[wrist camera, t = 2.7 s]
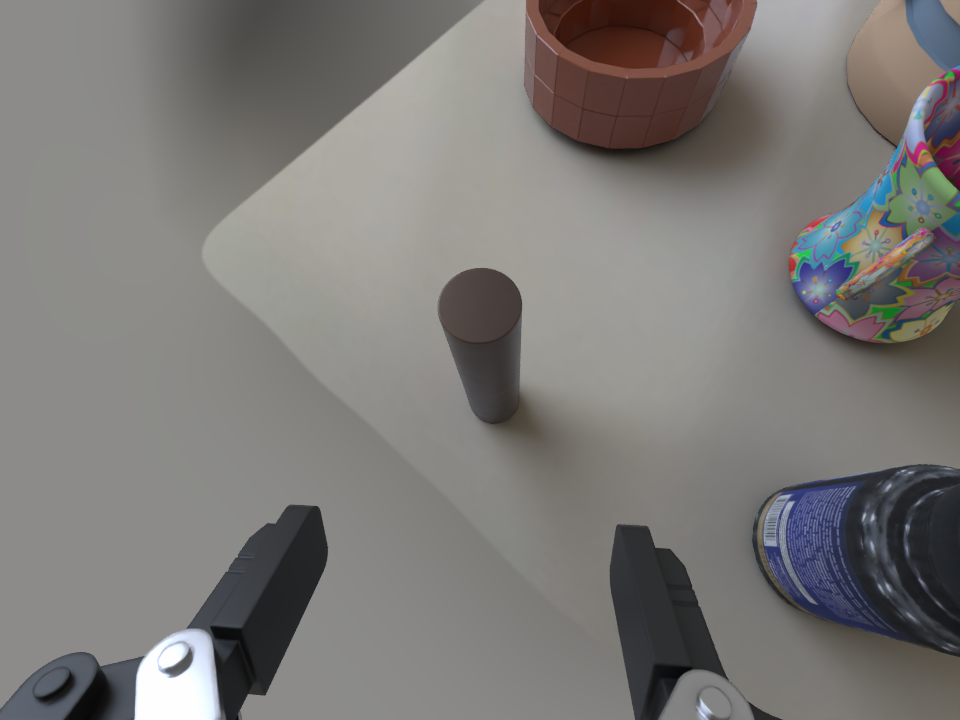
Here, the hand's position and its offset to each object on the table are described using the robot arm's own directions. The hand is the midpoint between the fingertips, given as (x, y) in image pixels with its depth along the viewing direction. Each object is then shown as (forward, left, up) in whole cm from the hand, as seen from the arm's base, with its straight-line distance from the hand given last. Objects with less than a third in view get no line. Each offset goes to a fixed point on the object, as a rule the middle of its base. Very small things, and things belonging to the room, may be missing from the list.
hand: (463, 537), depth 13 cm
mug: (+20, +14, -13) cm, 28 cm away
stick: (0, +7, -12) cm, 14 cm away
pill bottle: (+16, 0, -13) cm, 20 cm away
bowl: (+8, +31, -12) cm, 35 cm away
